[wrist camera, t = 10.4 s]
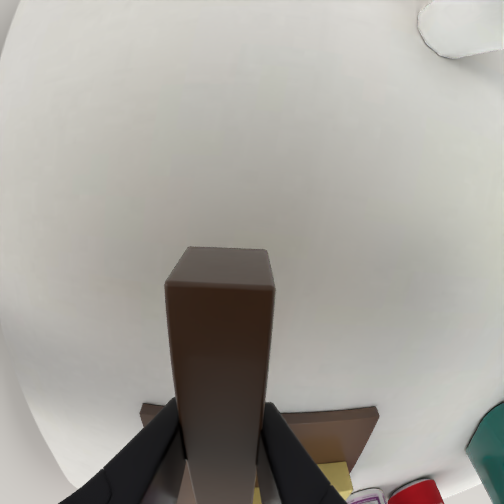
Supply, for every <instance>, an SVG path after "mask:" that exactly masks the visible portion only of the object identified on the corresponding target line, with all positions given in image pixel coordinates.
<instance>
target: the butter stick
mask: <svg viewBox="0 0 504 504" xmlns="http://www.w3.org/2000/svg"><path fill="white" fill-rule="evenodd" d="M253 504H262V503H261V497H260V490H259V488H257V487H255V489H254V497H253Z"/></svg>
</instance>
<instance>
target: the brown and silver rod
mask: <svg viewBox="0 0 504 504" xmlns="http://www.w3.org/2000/svg"><path fill="white" fill-rule="evenodd" d="M164 288H165V303H166V315H167V327H168V337H169V347H170V356H171V365H172V373H173V381H174V388H175V395H176V402H177V409H178V415H179V421H180V427H181V433H182V438H183V444H184V449H185V454H186V460H187V465H188V469H189V474H190V479H191V483H192V488H193V492H194V496H195V500H196V504H253V497H254V489H255V482H256V474H257V469H256V464H257V455H258V447H259V438H260V431H261V429H262V425H263V416H264V407H265V398H266V388H267V379H268V369H269V359H270V348H271V338H272V327H273V316H274V304H275V293H276V289H275V284H274V279H273V275H272V270H271V265H270V261H269V256H268V252H267V250H264V249H241V248H217V247H192V246H190V247H188V248H187V249H186V251H185V252H184V254H183V255H182V257H181V258H180V260H179V261H178V263H177V264H176V266H175V267H174V269H173V270H172V272H171V274H170V275H169V277H168V278H167V280H166V281H165V284H164Z"/></svg>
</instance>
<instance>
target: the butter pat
mask: <svg viewBox="0 0 504 504" xmlns="http://www.w3.org/2000/svg"><path fill="white" fill-rule="evenodd" d="M317 465H318V467H319V468H320V469H321V471H322V472H323V473H324V475H325V476H326V477H327V479H328V480H329V481H330V483H331V485H333V486H334V487H335V489H336V490H337V491H338V493H339V494H340V495H341V496H342V497H343V499H344V500H345V501H346V499H347V498H348V497H349V495H350V494H351V493H352V491H353V486H352V482H351V479H350V475H349V471H348V467H347V463H346V461H344V462H336V463H326V464H317Z"/></svg>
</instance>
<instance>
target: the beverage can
mask: <svg viewBox="0 0 504 504" xmlns="http://www.w3.org/2000/svg"><path fill="white" fill-rule="evenodd" d="M388 504H444V502H443V500H442V497H441V495H440V493H439V490H438V488H437V486H436V483H435V481H434V480H432V479H420V480H416V481H413V482H411V483H409V484H407V485H405V486H403V487H401V488H400V489H398V490H397V491H396V492H394V493H393V495H392V496H391V497H390V499H389V500H388Z"/></svg>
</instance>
